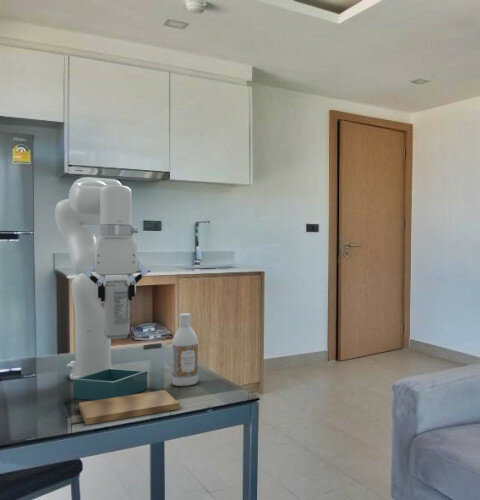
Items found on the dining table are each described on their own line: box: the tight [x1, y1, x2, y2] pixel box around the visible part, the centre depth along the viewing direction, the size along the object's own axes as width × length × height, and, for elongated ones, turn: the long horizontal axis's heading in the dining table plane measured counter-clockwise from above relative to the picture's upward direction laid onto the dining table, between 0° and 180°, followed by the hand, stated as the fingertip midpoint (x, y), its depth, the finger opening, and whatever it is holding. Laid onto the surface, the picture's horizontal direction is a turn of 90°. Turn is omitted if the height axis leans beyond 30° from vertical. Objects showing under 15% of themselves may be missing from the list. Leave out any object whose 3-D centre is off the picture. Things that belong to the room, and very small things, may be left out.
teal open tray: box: [72, 367, 148, 401], centre depth 143 cm, size 13×13×5 cm
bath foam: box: [171, 313, 199, 387], centre depth 153 cm, size 7×7×20 cm
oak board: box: [78, 389, 180, 426], centre depth 129 cm, size 20×14×2 cm
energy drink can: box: [103, 280, 131, 340], centre depth 141 cm, size 6×6×15 cm
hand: (116, 299), depth 141 cm, fingers closed on energy drink can, 6 cm apart
